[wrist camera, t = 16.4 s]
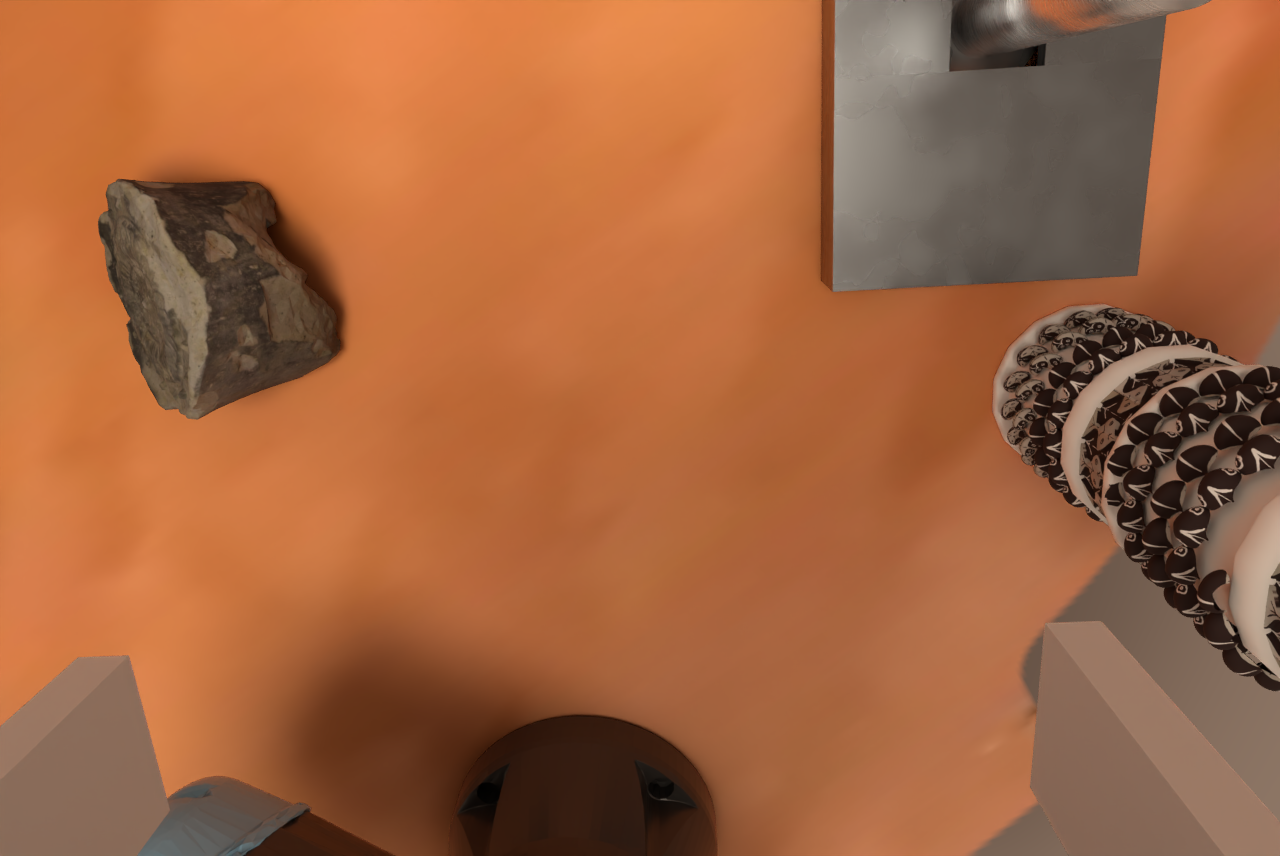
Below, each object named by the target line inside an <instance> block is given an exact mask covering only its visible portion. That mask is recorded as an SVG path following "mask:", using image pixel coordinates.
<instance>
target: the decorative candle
mask: <svg viewBox="0 0 1280 856" xmlns="http://www.w3.org/2000/svg"><path fill="white" fill-rule="evenodd" d="M992 412H993V415H994V417H995V420H996V422H997V425H998V427H999V429H1000V432H1001V434H1002V437H1003V439H1004V441H1006V442H1007V443H1008V444H1009V445H1010V446H1011V447H1012V448H1013V449H1014V450H1016V451H1017V452H1018V453H1019V454H1020V455H1021V458H1022V460H1023V462H1024V463H1025V464H1027V465H1034V472H1035V473H1036V474H1037V475H1038V476H1040V477H1043V478H1045V477H1047V478H1049V483H1050V485H1051V486H1052V488H1053V489H1055V490H1056V491H1058V492H1060V493H1063V496H1064V498H1065V500H1066V501H1067V502H1068V503H1069V504H1071V505H1073V506H1075V507H1086V512H1087V514H1088V515H1089V517H1091V518H1092V519H1094V520H1096V521H1103V522H1105V523H1106V524H1107V525H1108V526H1109V527H1110V530H1111V532H1112V535H1113V537H1114V540H1115V542H1116V543H1117V544H1118V545H1119V546H1121V547H1122V548H1123V549H1124V550H1125V552H1126V554H1127V556H1128V557H1129V558H1130V559H1131V560H1132V561H1134V562H1138V563H1140V564H1141V568H1142V572H1143V574H1144V575H1145V576H1146V577H1147V579H1149V580H1150V581H1152V582H1153V583H1155V584H1156V585H1157V586H1159V587H1163V588H1165V589H1164V597H1165V600H1166V601H1167V603H1168V604H1169V605H1170V606H1172V607H1173V608H1174V609H1176V610H1178V611H1179V612H1180V613H1181V614H1182V615H1184V616H1186V617H1191V618H1194V621H1193V622H1194V626H1195V628H1196V630H1197V631H1198V633H1199V634H1200V635H1201V636H1203V637H1204V638H1206V639H1207V641H1208V642H1209V643H1210V644H1211V645H1212V646H1213V647H1215V648H1217V649H1220V650H1223V652H1222V655H1223V660H1224V662H1225V664H1226V665H1227V667H1228V668H1229V669H1230V670H1232V671H1233V672H1234V673H1236V674H1239V675H1241V676H1254V678H1255V680H1256V681H1257V682H1258V683H1259V684H1260V685H1261V686H1263V687H1264V688H1266V689H1269V690H1272V691H1280V369H1279V368H1277V367H1270V366H1266V367H1265V366H1262V365H1259V364H1253V365H1244V364H1241V363H1239V362H1237V361H1236V360H1235V359H1234V358H1232V357H1230V356H1227V355H1218V348H1217V346H1216V344H1215V343H1213V342H1212V341H1210V340H1207V339H1202V338H1198V339H1195V337H1194V336H1193V335H1191V334H1190V333H1188V332H1185V331H1175V329H1174V328H1173V327H1172V326H1171V325H1169V324H1167V323H1165V322H1162V321H1157V320H1153V319H1152V318H1150V317H1148V316H1146V315H1143V314H1133V313H1130V312H1127V311H1124V310H1123V309H1121V308H1115V307H1112V306H1109V305H1106V304H1091V305H1077V306H1067V307H1065V308H1063V309H1061V310H1059V311H1056V312H1054V313H1052V314H1050V315H1048V316H1046V317H1043V318H1041V319H1039V320H1037V321H1035V322H1033V323H1032V324H1031V325H1030V326H1029V327H1028V328H1027V329H1026V330H1025V331H1024V332H1023V333H1022V334H1021V335H1020V336H1019V337H1018V338H1017V339H1016V340H1015V341H1014V342H1013V343H1012V344H1011V345H1010V346H1009V347H1008V349H1007V351H1006V353H1005V355H1004V357H1003V359H1002V362H1001V364H1000V366H999V368H998V370H997V372H996V375H995V377H994V379H993V401H992ZM1251 653H1252V654H1253V655H1254V656H1255V657H1256V658H1258V659H1259V660H1260V661H1261V663H1258V664H1256V663H1255V662H1254V661H1252V660H1251V659H1250V658H1249V657H1248V656H1247V655H1246V654H1251Z"/></svg>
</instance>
